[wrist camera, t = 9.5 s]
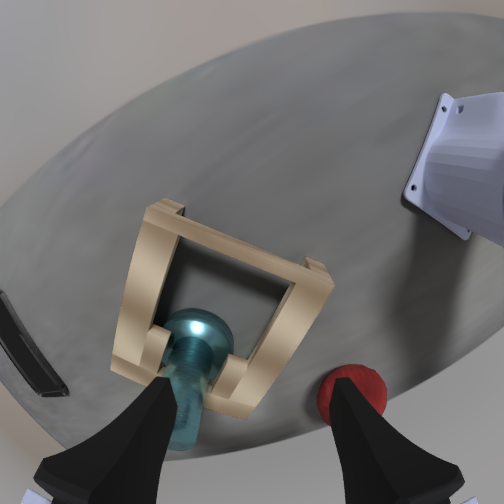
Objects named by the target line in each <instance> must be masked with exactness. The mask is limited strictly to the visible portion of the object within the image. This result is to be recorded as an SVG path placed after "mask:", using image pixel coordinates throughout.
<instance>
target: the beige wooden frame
mask: <svg viewBox="0 0 504 504" xmlns="http://www.w3.org/2000/svg"><path fill="white" fill-rule="evenodd" d="M184 207H185V206H184V205H181V204H179V203H176V202H174V201H172V200H169V199H167V198H164V199H162V200H160V201H158V202H156V203H154V204H152V205H150V206H148V207H147V209H146V212H145V215H144V218H143V222H142V225H141V228H140V232H139V235H138V239H137V242H136V246H135V250H134V254H133V257H132V261H131V265H130V269H129V273H128V277H127V282H126V286H125V290H124V295H123V299H122V304H121V309H120V314H119V319H118V324H117V330H116V335H115V341H114V347H113V354H112V361H111V368H110V370H112V371H114V372H116V373H118V374H120V375H123V376H125V377H127V378H129V379H131V380H133V381H136V382H138V383H140V384H143V385H145V386H148V385H149V384H150V383H151V382H152V380H153V379H154V378H155V377H156V376H159V377H161V375H162V373H163V370H164V368H165V367H162V366H160V365H161V362H162V359H163V355H164V352H165V349H166V346H167V343H168V341H169V338H170V335H171V331H169V330H166V329H164V328H162V327H159V326H157V325H155V324H152V323H153V320H154V316H155V313H156V309H157V306H158V303H159V300H160V296H161V293H162V290H163V287H164V284H165V280H166V277H167V274H168V271H169V268H170V265H171V262H172V259H173V256H174V253H175V250H176V247H177V245H178V242H179V239H180V236H182V237H185V238H187V239H190V240H192V241H194V242H197V243H199V244H202V245H204V246H206V247H209V248H211V249H214V250H216V251H219V252H221V253H223V254H226V255H228V256H231V257H233V258H236V259H238V260H240V261H243V262H245V263H248V264H250V265H253V266H255V267H258V268H260V269H262V270H265V271H267V272H270V273H272V274H275V275H277V276H280V277H282V278H285V279H287V280H290V281H291V283H290V285H289V287H288V289H287V291H286V293H285V295H284V296H283V298H282V300H281V302H280V304H279V306H278V307H277V309H276V311H275V313H274V315H273V317H272V318H271V320H270V322H269V324H268V325H267V327H266V329H265V331H264V333H263V334H262V336H261V338H260V340H259V341H258V343H257V345H256V347H255V348H254V350H253V352H252V354H251V355H250V357H249V359H248V360H246V359H243V358H240V357H237V356H234V355H231V354H228V356H227V358H226V360H225V361H224V363H223V365H222V367H221V369H220V371H219V373H218V375H217V377H216V378H215V380H214V382H213V384H212V385H210V384H208V386H207V390H206V395H205V400H204V405H203V408H207V409H210V410H213V411H216V412H219V413H223V414H226V415H230V416H233V417H237V418H241V419H244V420H246V419H247V418H248V416H249V415H250V414H251V412H252V411H253V410H254V408H255V407H256V406H257V404H258V403H259V402H260V400H261V399H262V398H263V396H264V395H265V393H266V392H267V391H268V389H269V388H270V386H271V385H272V384H273V382H274V381H275V379H276V378H277V377H278V375H279V374H280V372H281V371H282V369H283V368H284V366H285V365H286V363H287V362H288V360H289V359H290V357H291V356H292V354H293V353H294V351H295V350H296V348H297V347H298V345H299V344H300V342H301V341H302V339H303V338H304V336H305V334H306V333H307V331H308V330H309V328H310V327H311V325H312V323H313V322H314V320H315V319H316V317H317V315H318V314H319V312H320V310H321V309H322V307H323V305H324V304H325V302H326V300H327V299H328V297H329V295H330V294H331V292H332V290H333V288H334V287H335V284H334V282H333V281H332V279H331V277H330V275H329V273H328V272H327V270H326V268H325V266H324V265H323V264H321V263H319V262H317V261H314V260H312V259H310V258H308V257H305V258H304V260H303V261H302V263H301V265H298V264H296V263H293V262H291V261H288V260H286V259H284V258H281V257H279V256H276V255H274V254H272V253H269V252H267V251H265V250H262V249H260V248H257V247H255V246H253V245H250V244H248V243H245V242H243V241H241V240H238V239H236V238H233V237H231V236H229V235H226V234H224V233H221V232H219V231H217V230H214V229H212V228H209V227H207V226H205V225H202V224H200V223H197V222H195V221H192V220H190V219H188V218H185V217H183V216H181V215H182V212H183V210H184Z"/></svg>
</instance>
